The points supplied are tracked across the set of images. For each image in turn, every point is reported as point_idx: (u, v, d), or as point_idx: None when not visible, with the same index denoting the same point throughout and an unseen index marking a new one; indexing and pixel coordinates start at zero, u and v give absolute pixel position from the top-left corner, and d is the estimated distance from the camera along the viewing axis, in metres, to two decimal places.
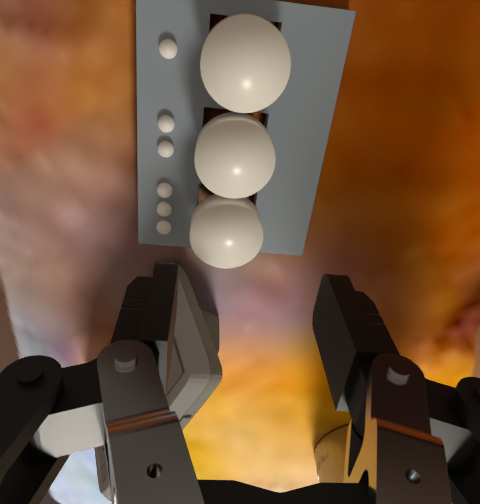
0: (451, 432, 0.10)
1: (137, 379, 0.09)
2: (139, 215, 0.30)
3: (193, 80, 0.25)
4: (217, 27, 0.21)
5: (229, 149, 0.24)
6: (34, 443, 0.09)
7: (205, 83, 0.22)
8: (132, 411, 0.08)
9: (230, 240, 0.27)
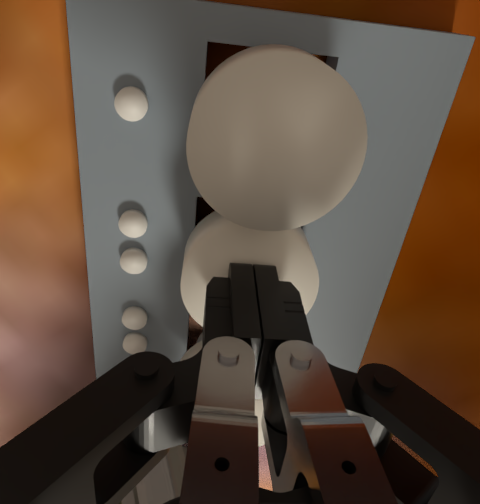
0: None
1: (244, 374, 0.09)
2: (96, 351, 0.19)
3: (177, 154, 0.15)
4: (221, 77, 0.10)
5: None
6: (136, 434, 0.09)
7: (197, 181, 0.11)
8: (220, 404, 0.09)
9: None
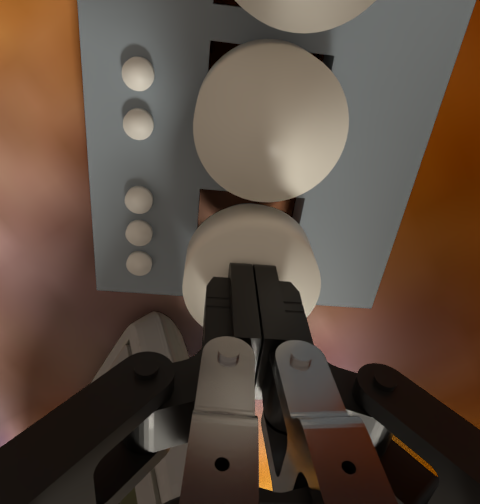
0: None
1: (244, 374, 0.09)
2: (96, 243, 0.17)
3: None
4: None
5: (261, 107, 0.12)
6: (136, 434, 0.09)
7: None
8: (220, 404, 0.09)
9: None
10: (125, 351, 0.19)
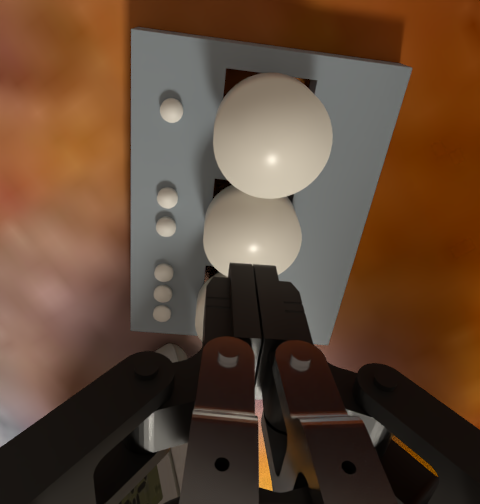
0: None
1: (244, 374, 0.09)
2: (132, 300, 0.24)
3: (202, 147, 0.20)
4: (237, 94, 0.16)
5: (246, 228, 0.20)
6: (136, 434, 0.09)
7: (219, 163, 0.17)
8: (220, 404, 0.09)
9: None
10: None
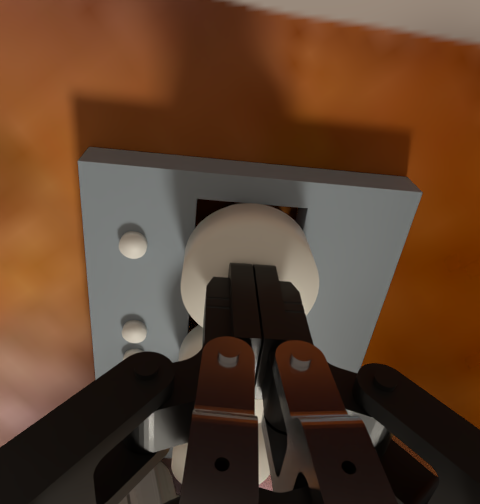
0: None
1: (244, 374, 0.09)
2: None
3: (172, 279, 0.17)
4: (206, 243, 0.13)
5: None
6: (136, 434, 0.09)
7: (189, 309, 0.15)
8: (220, 404, 0.09)
9: None
10: (125, 497, 0.23)
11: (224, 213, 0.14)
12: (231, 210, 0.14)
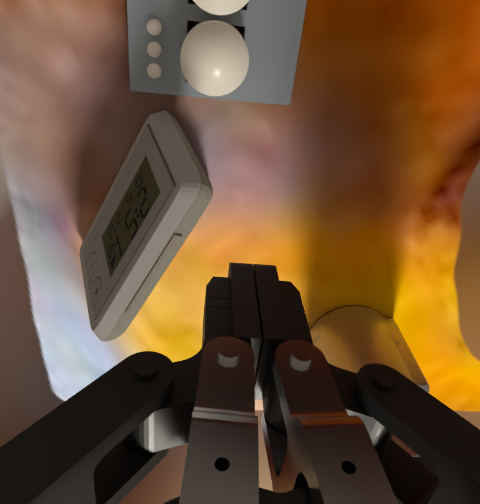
0: None
1: (244, 374, 0.09)
2: (130, 57, 0.31)
3: None
4: None
5: None
6: (136, 434, 0.09)
7: None
8: (220, 404, 0.09)
9: (218, 63, 0.29)
10: (146, 128, 0.33)
11: None
12: None
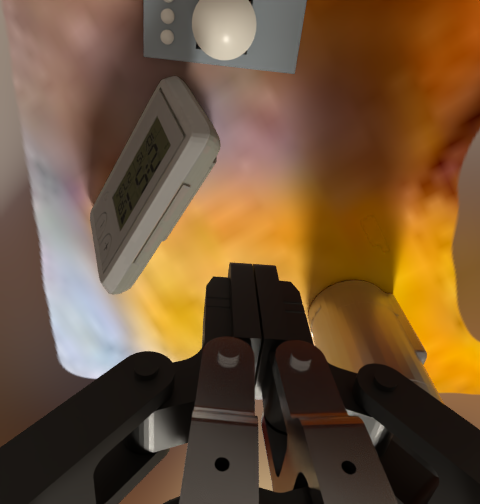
0: None
1: (244, 374, 0.09)
2: (144, 24, 0.33)
3: None
4: None
5: None
6: (136, 434, 0.09)
7: None
8: (220, 404, 0.09)
9: (227, 28, 0.31)
10: (158, 92, 0.35)
11: None
12: None
